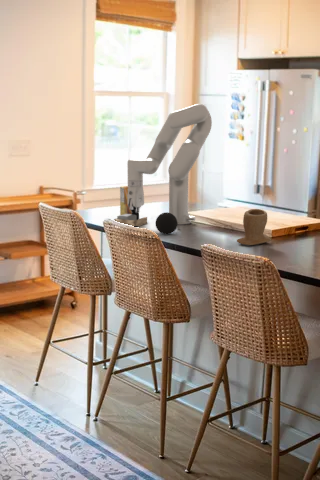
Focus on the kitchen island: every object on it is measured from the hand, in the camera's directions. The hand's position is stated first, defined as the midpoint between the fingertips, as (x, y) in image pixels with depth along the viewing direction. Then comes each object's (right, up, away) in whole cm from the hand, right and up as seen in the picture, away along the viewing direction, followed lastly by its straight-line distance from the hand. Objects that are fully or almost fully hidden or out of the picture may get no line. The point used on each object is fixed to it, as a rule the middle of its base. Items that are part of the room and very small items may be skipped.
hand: (135, 220), depth 360 cm
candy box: (-4, +3, +24) cm, 24 cm away
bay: (-2, -2, -4) cm, 5 cm away
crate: (-4, -2, -5) cm, 7 cm away
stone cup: (+53, -12, -53) cm, 76 cm away
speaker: (+15, -7, -30) cm, 35 cm away
